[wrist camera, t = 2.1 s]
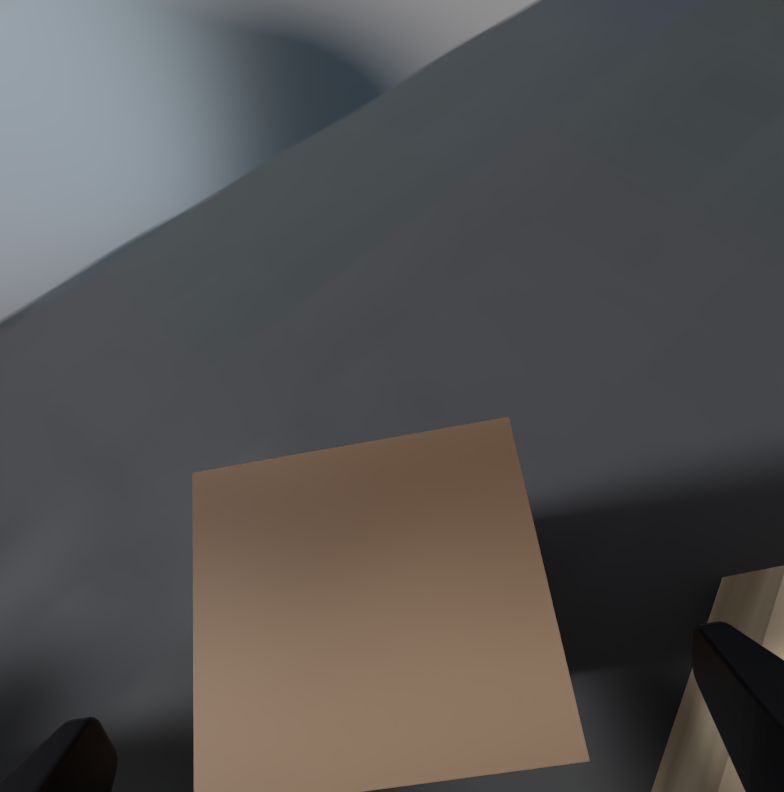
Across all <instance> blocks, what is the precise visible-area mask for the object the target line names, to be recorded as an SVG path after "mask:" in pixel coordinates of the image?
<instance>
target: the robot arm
mask: <svg viewBox="0 0 784 792" xmlns="http://www.w3.org/2000/svg"><path fill="white" fill-rule="evenodd" d="M692 668H693V673H694V677H695V680H696V683H697V685H698V687H699V690H700V692H701V694H702V696H703V698H704V701H705V703H706V705H707V707H708V710H709V712H710V714H711V716H712V719H713V721H714V723H715V725H716V727H717V730H718V732H719V734H720V736H721V739H722V741H723V743H724V745H725V747H726V750H727V752H728V754H729V756H730V759H731V761H732V763H733V765H734V768H735V770H736V772H737V774H738V776H739V779H740V781H741V783H742V785H743V787H744V789H745V791H746V792H784V660H783V659H781V658H780V657H778V656H777V655H775V654H774V653H772V652H771V651H769V650H768V649H766V648H765V647H763V646H762V645H760V644H759V643H757V642H756V641H754V640H753V639H751V638H750V637H748V636H747V635H745V634H744V633H742V632H741V631H739V630H738V629H736V628H735V627H733V626H731V625H730V624H728V623H726V622H722V621H717V622H710V623H704V624H698V625H696V626H695V627H694V629H693V642H692ZM116 769H117V754H116V750H115V748H114V746H113V744H112V743H111V741H110V739H109V737H108V736H107V734H106V732H105V730H104V729H103V727H102V725H101V723H100V722H99V720H98V719H96V718H94V717H87V718H80V719H74V720H70V721H68V722H66V723H64V724H63V725H62V726H61V727H60V728H58V729H57V730H56V731H55V732H54V733H53V734H52V735H51V736H50V737H49V738H48V739H47V740H46V741H45V742H44V743H43V744H42V745H41V746H40V747H39V748H37V749H36V750H35V751H34V752H33V753H32V754H31V755H30V756H29V757H28V758H27V759H26V760H25V761H24V762H23V763H22V764H21V765H20V766H19V767H17V768H16V769H15V770H14V771H13V772H12V773H11V774H10V775H9V776H8V777H7V778H6V779H5V780H4V781H3V782H2V783H1V784H0V792H111V790H112V786H113V782H114V778H115V773H116Z"/></svg>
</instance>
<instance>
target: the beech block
mask: <svg viewBox="0 0 784 792" xmlns="http://www.w3.org/2000/svg"><path fill="white" fill-rule="evenodd" d="M717 621H722V622H726V623H728V624H730V625H731V626H733V627H735V628H736V629H738V630H739V631H741V632H742V633H744V634H745V635H747V636H748V637H750V638H751V639H753V640H754V641H756V642H757V643H759V644H760V645H762V646H763V647H765V648H766V649H768V650H769V651H771V652H772V653H774V654H775V655H777V656H778V657H780V658H781V659H783V660H784V565H783V566H778V567H773V568H768V569H763V570H757V571H752V572H747V573H742V574H737V575H732V576H727V577H722V580H721V583H720V586H719V589H718V592H717V595H716V598H715V601H714V604H713V607H712V610H711V613H710V616H709V619H708V622H707V623H710V622H717ZM651 792H746V791H745V789H744V787H743V785H742V783H741V781H740V779H739V776H738V774H737V772H736V770H735V768H734V765H733V763H732V761H731V759H730V756H729V754H728V752H727V750H726V747H725V745H724V743H723V741H722V739H721V736H720V734H719V732H718V730H717V727H716V725H715V723H714V721H713V719H712V716H711V714H710V712H709V710H708V707H707V705H706V703H705V701H704V698H703V696H702V694H701V692H700V690H699V687H698V685H697V683H696V680H695V677H694V673H693V668H692V670H691V673H690V676H689V679H688V682H687V685H686V688H685V691H684V694H683V697H682V700H681V703H680V706H679V709H678V712H677V715H676V718H675V721H674V724H673V727H672V730H671V733H670V736H669V739H668V742H667V745H666V748H665V752H664V755H663V758H662V761H661V764H660V767H659V770H658V773H657V776H656V779H655V782H654V785H653V788H652V791H651Z"/></svg>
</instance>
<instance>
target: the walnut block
mask: <svg viewBox="0 0 784 792" xmlns="http://www.w3.org/2000/svg"><path fill="white" fill-rule="evenodd" d="M193 728H194V792H364V791H371V790H378V789H386V788H393V787H401V786H408V785H416V784H423V783H431V782H438V781H446V780H453V779H460V778H468V777H475V776H483V775H490V774H498V773H505V772H513V771H520V770H528V769H535V768H542V767H550V766H557V765H565V764H572V763H580V762H587V761H590V760H589V756H588V751H587V747H586V743H585V739H584V734H583V730H582V726H581V722H580V717H579V713H578V709H577V705H576V700H575V696H574V692H573V688H572V683H571V679H570V675H569V671H568V666H567V662H566V658H565V654H564V649H563V645H562V641H561V637H560V632H559V628H558V624H557V620H556V615H555V611H554V607H553V603H552V598H551V594H550V590H549V586H548V581H547V577H546V573H545V569H544V565H543V560H542V556H541V552H540V548H539V543H538V539H537V535H536V531H535V526H534V522H533V518H532V514H531V509H530V505H529V501H528V497H527V492H526V488H525V484H524V480H523V475H522V471H521V467H520V463H519V458H518V454H517V450H516V446H515V441H514V437H513V433H512V429H511V424H510V420H509V417H505V418H499V419H494V420H488V421H482V422H477V423H471V424H465V425H460V426H454V427H448V428H443V429H437V430H432V431H426V432H420V433H415V434H409V435H403V436H398V437H392V438H386V439H381V440H375V441H369V442H364V443H358V444H352V445H347V446H341V447H336V448H330V449H324V450H319V451H313V452H307V453H302V454H296V455H290V456H285V457H279V458H273V459H268V460H262V461H257V462H251V463H245V464H240V465H234V466H228V467H223V468H217V469H211V470H206V471H200V472H194V473H193Z"/></svg>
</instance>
